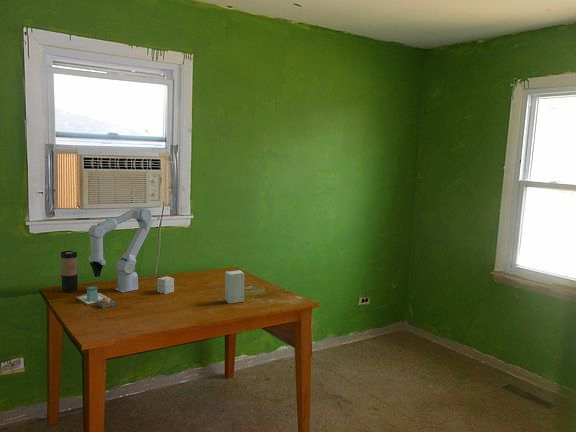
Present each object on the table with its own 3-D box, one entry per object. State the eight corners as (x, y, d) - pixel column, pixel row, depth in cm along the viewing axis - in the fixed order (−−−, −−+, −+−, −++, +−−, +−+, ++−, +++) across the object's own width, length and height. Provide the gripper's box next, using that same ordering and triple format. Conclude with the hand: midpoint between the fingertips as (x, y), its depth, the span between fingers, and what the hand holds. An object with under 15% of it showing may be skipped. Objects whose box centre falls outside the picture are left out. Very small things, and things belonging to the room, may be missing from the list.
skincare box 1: (166, 289, 255) (166, 275, 254) (174, 291, 252) (174, 277, 251) (157, 292, 250) (157, 278, 249) (165, 294, 247) (165, 280, 246)
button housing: (109, 302, 230) (109, 298, 230) (115, 305, 226) (115, 301, 226) (96, 305, 226) (96, 301, 226) (102, 308, 222) (102, 304, 222)
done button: (108, 303, 229) (107, 297, 228) (111, 305, 226) (111, 298, 226) (100, 304, 226) (100, 298, 226) (104, 306, 224) (103, 300, 223)
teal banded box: (94, 298, 235) (94, 286, 234) (97, 299, 233) (97, 287, 232) (87, 299, 232) (86, 287, 232) (90, 301, 230) (90, 289, 229)
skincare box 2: (240, 298, 243) (240, 269, 241) (244, 302, 238) (245, 272, 236) (224, 300, 240) (224, 271, 238) (228, 304, 234) (228, 273, 232)
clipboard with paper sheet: (99, 293, 245) (99, 291, 245) (112, 300, 235) (112, 298, 235) (74, 297, 236) (74, 295, 236) (87, 305, 226) (87, 303, 226)
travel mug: (62, 293, 243) (60, 254, 240) (61, 289, 250) (60, 251, 247) (78, 291, 246) (77, 253, 244) (77, 288, 253) (76, 250, 251)
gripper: (82, 248, 241) (82, 274, 243) (95, 252, 232) (96, 280, 233) (96, 246, 247) (96, 272, 248) (109, 251, 237) (110, 278, 238)
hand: (97, 276), depth 241 cm, fingers closed
